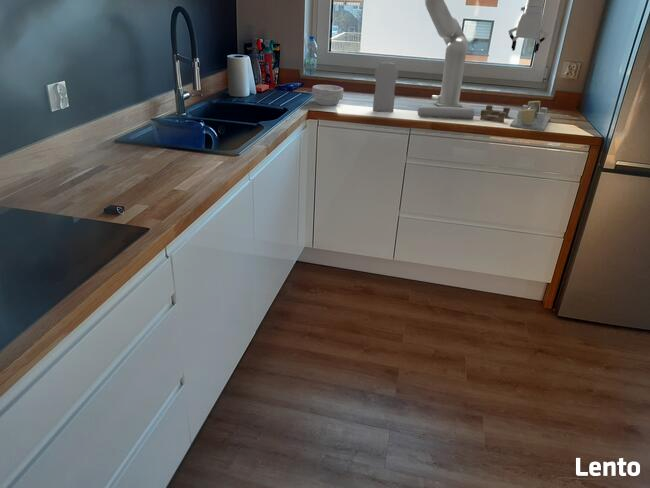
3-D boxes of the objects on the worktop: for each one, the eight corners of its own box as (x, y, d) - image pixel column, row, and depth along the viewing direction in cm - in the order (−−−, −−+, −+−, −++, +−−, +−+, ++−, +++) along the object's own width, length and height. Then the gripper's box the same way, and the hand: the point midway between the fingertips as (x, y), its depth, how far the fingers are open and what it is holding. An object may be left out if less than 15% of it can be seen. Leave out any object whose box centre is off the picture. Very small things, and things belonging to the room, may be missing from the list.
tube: (418, 109, 228) (474, 111, 227) (418, 103, 231) (473, 105, 230) (417, 119, 232) (472, 122, 231) (416, 113, 235) (470, 115, 234)
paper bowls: (348, 103, 251) (349, 86, 247) (332, 108, 239) (332, 91, 236) (322, 99, 258) (323, 82, 254) (305, 103, 247) (306, 87, 243)
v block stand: (509, 126, 221) (512, 112, 218) (518, 115, 242) (521, 102, 239) (543, 131, 216) (547, 117, 213) (549, 119, 237) (552, 106, 234)
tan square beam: (521, 122, 219) (521, 110, 218) (528, 112, 239) (528, 101, 237) (533, 122, 217) (534, 110, 215) (539, 111, 236) (540, 100, 234)
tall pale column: (372, 111, 236) (376, 62, 226) (371, 109, 240) (375, 61, 230) (394, 112, 237) (399, 63, 227) (393, 110, 241) (398, 61, 230)
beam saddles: (479, 119, 231) (481, 110, 229) (486, 113, 243) (487, 104, 241) (503, 122, 227) (504, 113, 225) (508, 116, 239) (510, 107, 237)
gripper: (511, 9, 227) (503, 50, 235) (552, 12, 220) (542, 54, 228) (514, 9, 233) (506, 48, 241) (554, 12, 226) (544, 52, 234)
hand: (524, 51), depth 234 cm, fingers open, 9 cm apart
